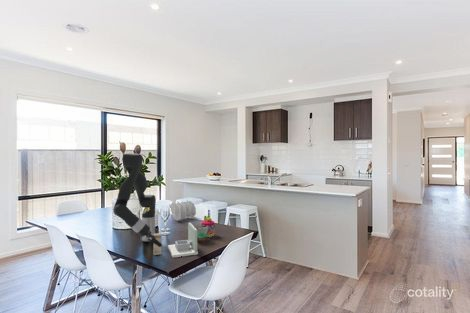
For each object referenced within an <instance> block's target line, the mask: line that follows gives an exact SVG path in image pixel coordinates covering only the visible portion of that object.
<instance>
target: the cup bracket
mask: <svg viewBox="0 0 470 313" xmlns="http://www.w3.org/2000/svg"><path fill="white" fill-rule="evenodd" d="M187 226H188V227H187V229H188V230H187V232H188V234H187V235H188V236H187V238H188V239H185V240H184V239H183V240H175V242H174V243H173V244H169V245H167V249H168V251H169V253H170V255H171V257H172V258H179V257H181V256H182V257H187V256H194V255H199V252H198V242H197V228H196V226H194V225H193V223H191V222H188V225H187ZM182 257H181V258H182Z"/></svg>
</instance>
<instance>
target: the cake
mask: <svg viewBox="0 0 470 313" xmlns="http://www.w3.org/2000/svg"><path fill="white" fill-rule="evenodd" d="M212 219H213V218H211V216H210V215H204V216H203V220H202V221H201V223H200V224H201V227H206V226H208V230H207V237H209V238H212V236H213V237H214V236H215V231H216V230H215V227H216V225H215V221H214V220H212ZM201 227H200V228H201Z"/></svg>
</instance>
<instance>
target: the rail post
mask: <svg viewBox="0 0 470 313" xmlns="http://www.w3.org/2000/svg"><path fill="white" fill-rule="evenodd" d="M154 236H155V237H156V239H157V240H158V241H159V242H160V243H161V244H162V233H161V232H160V233H155V234H154ZM154 242H155V240H154ZM152 244H153V247H152V251H153V255H154V256H156V255H162V246H161V247H159V246H157V245H156V244H154V243H152Z"/></svg>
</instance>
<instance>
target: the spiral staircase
mask: <svg viewBox="0 0 470 313" xmlns="http://www.w3.org/2000/svg"><path fill="white" fill-rule="evenodd" d="M169 206H170V208H171V210H170V212H171V215H172V218H173V219H174V221H178V222H179V221H180V220H182V221H183V220H185V219H190V218H194V217H195V216H196V214H197V211H196V210H197V208H196V205H195V203H194V202H192V201H191V200H186V201H183V200H181V202H179V201H178V202H177V203H176V202H175V203H174V202H172V203H170V204H169V205H168V207H169Z"/></svg>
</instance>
